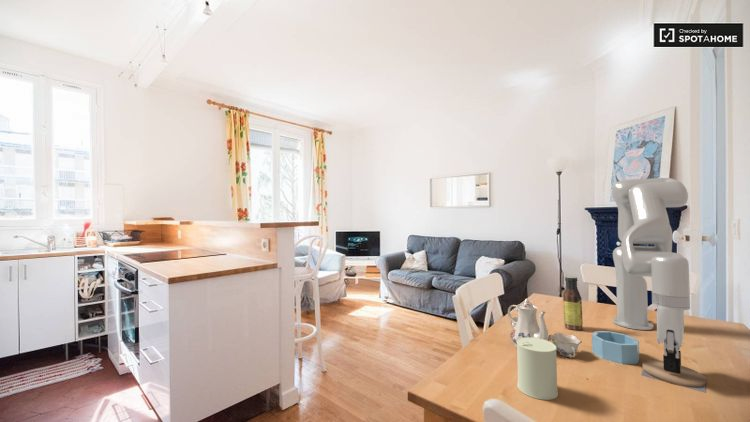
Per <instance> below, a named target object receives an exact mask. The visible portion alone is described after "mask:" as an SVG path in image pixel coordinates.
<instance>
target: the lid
mask: <svg viewBox="0 0 750 422" xmlns="http://www.w3.org/2000/svg"><path fill="white" fill-rule="evenodd" d="M679 358H680V352H679ZM643 370H644V371H645V372H646V373H647V374H649V375H651V376H653V377H655V378H657V379H659V380H658V381H661V380H662V382H664V381H665V383H669V384H671V385H672V384H673V385H675V386H679V385H680V387H683V386H686V387H703V386H705V387H706V385H707V378H706V376H705V375H704V376H703V375H702V373H700V372H698V371H696V370H695V369H692V368H690V367H687V366H684V365H681V366H680V374H677V373H673V372H669V371H665V370H664V363H663V361H662V360H645V361H644V362H642V371H643ZM657 379H656V380H657ZM686 387H685V388H686Z"/></svg>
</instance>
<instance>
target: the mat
mask: <svg viewBox="0 0 750 422" xmlns="http://www.w3.org/2000/svg"><path fill="white" fill-rule="evenodd" d="M701 374H702V373H701ZM702 375H703V376H704V377H705V374H702ZM641 376H643V377H646V378H650V379H653V380H657V381H660V382H661V381H662V380H659V379H657V378H655V377H653V376H651V375H649V374H647V373H646V372H645V371H644V370H643V369H642V370H641ZM662 382H665V381H662ZM665 383H666V382H665ZM678 386H680V385H678ZM680 387H681V386H680ZM682 387H683V388H687V389H691V390H694V391H698V392H701V393H706V392H707V391H706V385H705V386H703V387H686V386H682Z"/></svg>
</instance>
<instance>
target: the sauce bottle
mask: <svg viewBox="0 0 750 422" xmlns="http://www.w3.org/2000/svg"><path fill="white" fill-rule="evenodd" d="M564 280H565V290H564V291H563V293H562V299H563V300H562V308H563V324H564V327H565V328H566V329H568V330H572V331H573V330H574V331H580V330H582V329H583V324H584V323H583V304H582V303H583V301H582V295H581V294H580V291H579V289H578V277H577V276H569V275H568V276H565V277H564Z"/></svg>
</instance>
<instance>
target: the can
mask: <svg viewBox="0 0 750 422" xmlns="http://www.w3.org/2000/svg"><path fill="white" fill-rule="evenodd" d="M516 351H517V352H516V354H517V356H516V357H517V359H516V360H517V383H516V386H517V389H518V390H519V391H521V393H523V394H524V395H526V396H528V397H530V398H534V399H537V400H542V401H544V400H545V401H550V400H554V399H556V398H558V395H559V392H558V378H557V377H558V373H557V371H558V370H557V369H558V368H557V365H558V363H557V351H558V350H557V347H556V346H555V345H554V344H553V342H552V341H549V340H548V341H547V340H543V339H539V338H533V337H524V338H519V339H518V340H517V347H516Z"/></svg>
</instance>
